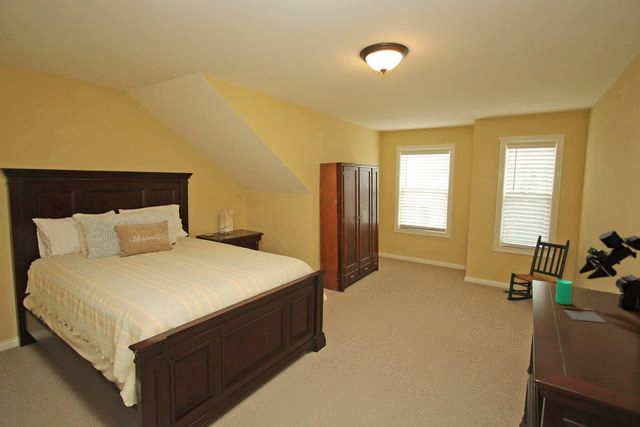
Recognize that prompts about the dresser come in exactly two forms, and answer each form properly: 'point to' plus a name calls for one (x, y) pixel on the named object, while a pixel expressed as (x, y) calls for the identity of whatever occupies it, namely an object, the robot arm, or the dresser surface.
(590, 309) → the line strip
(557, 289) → the candle
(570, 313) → the mat
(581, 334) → the dresser surface
